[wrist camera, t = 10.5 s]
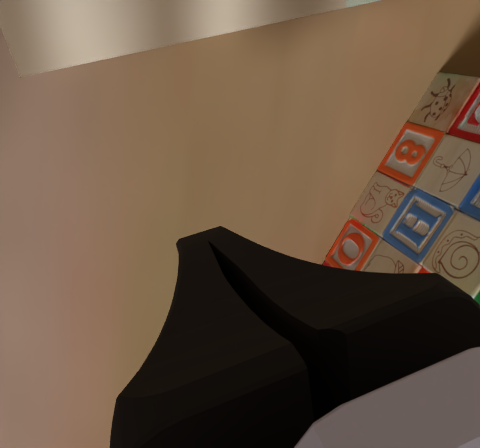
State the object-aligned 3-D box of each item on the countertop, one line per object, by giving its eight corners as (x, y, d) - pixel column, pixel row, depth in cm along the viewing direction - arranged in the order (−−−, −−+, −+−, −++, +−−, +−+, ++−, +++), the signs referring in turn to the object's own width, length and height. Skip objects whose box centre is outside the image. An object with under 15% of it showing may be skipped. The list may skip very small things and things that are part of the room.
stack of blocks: (321, 391, 31) (447, 581, 21) (249, 377, 28) (354, 590, 18) (500, 117, 26) (785, 183, 16) (436, 66, 23) (733, 106, 13)
